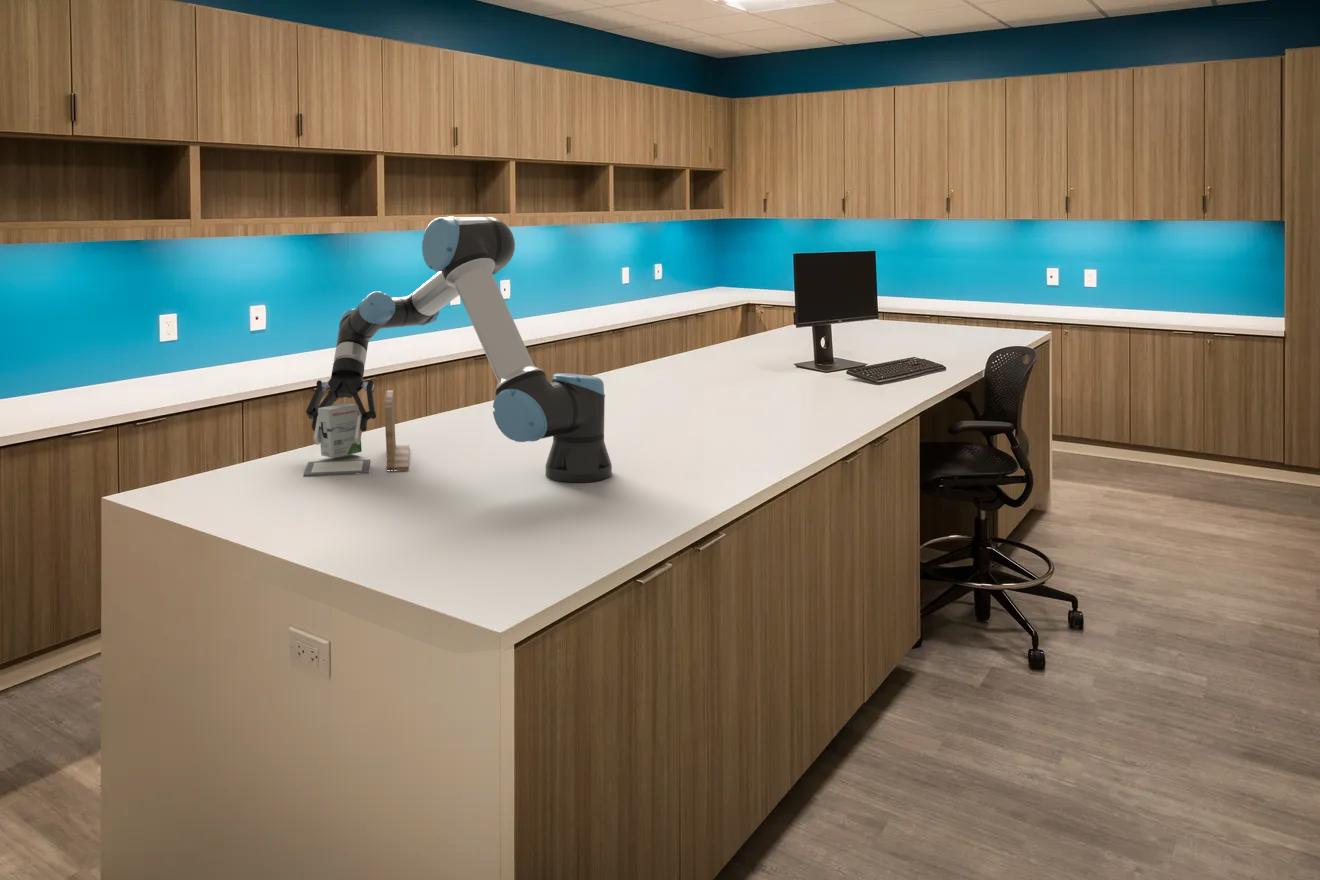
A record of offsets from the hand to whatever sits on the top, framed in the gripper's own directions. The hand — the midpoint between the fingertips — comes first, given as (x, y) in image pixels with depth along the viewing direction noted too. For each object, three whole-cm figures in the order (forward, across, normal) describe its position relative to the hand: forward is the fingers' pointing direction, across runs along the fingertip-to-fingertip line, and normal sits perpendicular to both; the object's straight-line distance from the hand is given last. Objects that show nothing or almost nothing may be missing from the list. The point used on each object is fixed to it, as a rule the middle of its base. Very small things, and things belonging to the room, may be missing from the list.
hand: (336, 441), depth 247 cm
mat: (+9, -2, +2) cm, 9 cm away
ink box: (+1, 0, -5) cm, 5 cm away
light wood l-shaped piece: (+3, -14, -4) cm, 15 cm away
